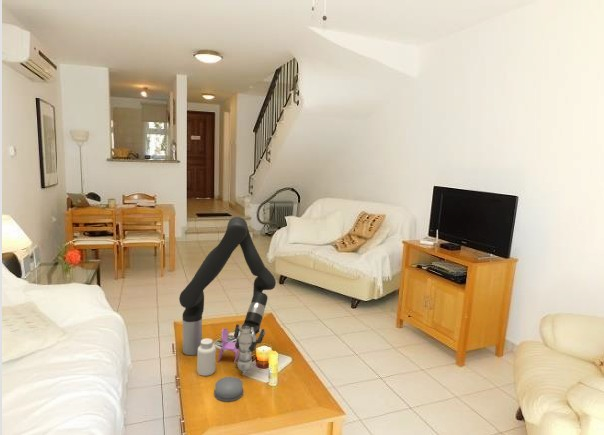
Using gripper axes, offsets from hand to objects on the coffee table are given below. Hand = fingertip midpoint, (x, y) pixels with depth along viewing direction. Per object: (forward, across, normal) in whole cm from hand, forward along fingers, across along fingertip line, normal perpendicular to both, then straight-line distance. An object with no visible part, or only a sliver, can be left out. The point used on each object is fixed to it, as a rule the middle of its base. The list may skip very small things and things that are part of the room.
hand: (244, 349), depth 183 cm
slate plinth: (+19, 0, -1) cm, 19 cm away
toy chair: (+2, -12, +17) cm, 21 cm away
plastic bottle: (+6, 0, +9) cm, 11 cm away
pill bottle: (+11, -17, +8) cm, 22 cm away
